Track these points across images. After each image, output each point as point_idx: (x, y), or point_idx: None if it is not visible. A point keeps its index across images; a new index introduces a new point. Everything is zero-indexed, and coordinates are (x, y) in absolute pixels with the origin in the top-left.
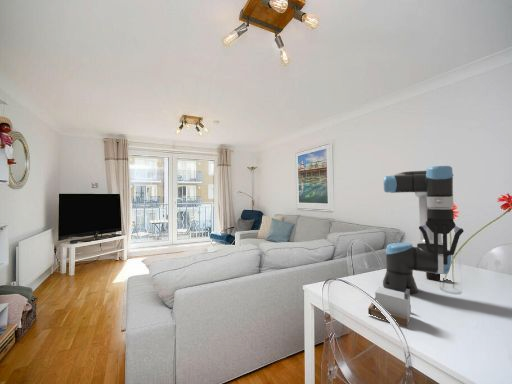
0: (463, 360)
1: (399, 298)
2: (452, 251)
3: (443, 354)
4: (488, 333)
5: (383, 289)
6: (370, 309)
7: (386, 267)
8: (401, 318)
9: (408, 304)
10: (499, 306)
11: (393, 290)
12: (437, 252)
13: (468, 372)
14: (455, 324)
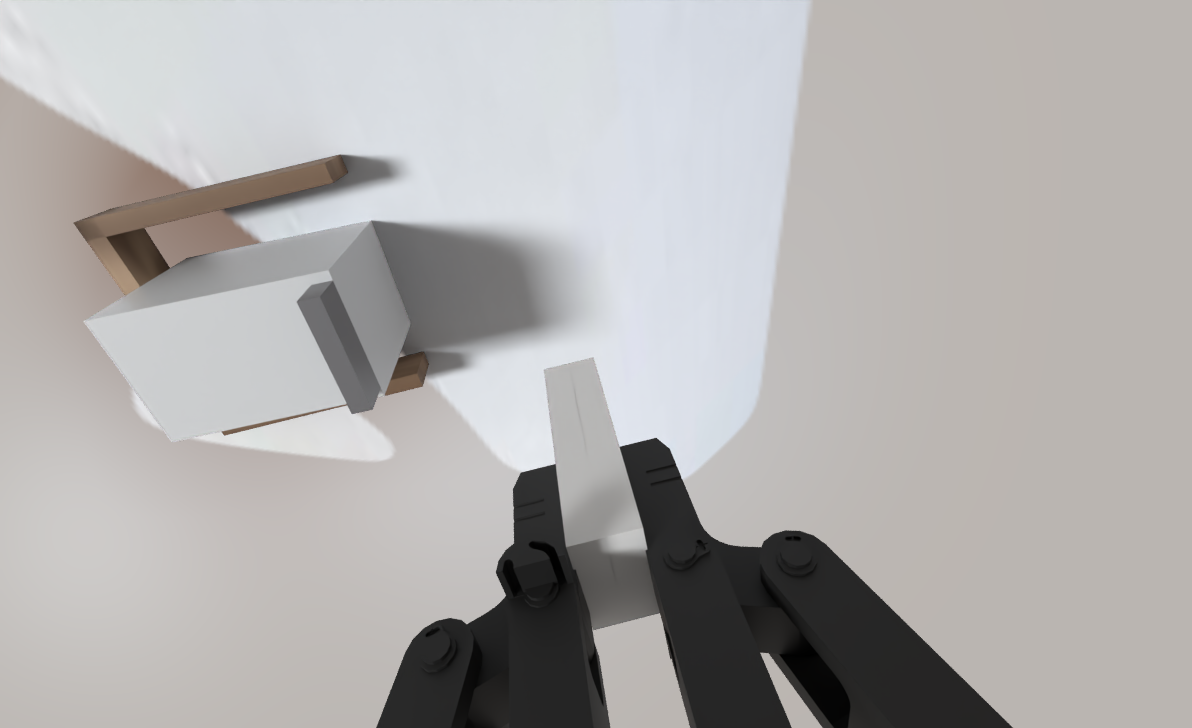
0: (653, 418)
1: (336, 405)
2: (823, 673)
3: None
4: (728, 69)
5: (152, 349)
6: (238, 431)
7: None
8: (398, 390)
9: (376, 329)
10: None
11: (207, 302)
12: (593, 677)
13: None
14: (581, 100)
